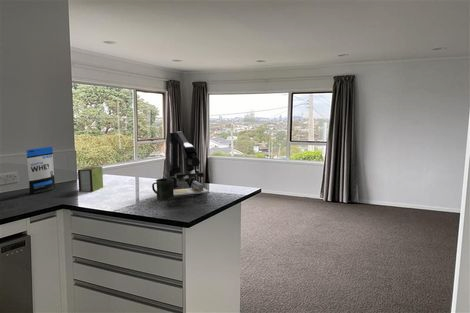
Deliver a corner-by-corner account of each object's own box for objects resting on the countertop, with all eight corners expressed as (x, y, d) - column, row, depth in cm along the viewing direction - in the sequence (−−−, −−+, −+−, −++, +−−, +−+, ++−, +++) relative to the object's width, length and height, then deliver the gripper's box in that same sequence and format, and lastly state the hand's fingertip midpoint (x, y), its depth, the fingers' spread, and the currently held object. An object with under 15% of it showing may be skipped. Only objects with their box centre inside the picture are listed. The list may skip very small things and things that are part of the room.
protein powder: (23, 194, 233) (20, 149, 230) (49, 187, 257) (46, 146, 253) (36, 195, 231) (32, 150, 228) (60, 187, 255) (58, 146, 252)
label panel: (169, 191, 241) (168, 189, 241) (202, 188, 251) (202, 186, 251) (174, 195, 228) (173, 193, 228) (209, 192, 237) (208, 190, 237)
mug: (169, 201, 214) (168, 181, 212) (148, 199, 218) (147, 180, 217) (177, 197, 224) (176, 178, 223) (157, 195, 228) (156, 177, 227)
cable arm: (191, 186, 248) (191, 181, 248) (196, 186, 249) (196, 180, 249) (198, 191, 233) (198, 185, 232) (203, 190, 234) (203, 184, 234)
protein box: (103, 187, 256) (102, 166, 254) (93, 192, 241) (91, 169, 239) (89, 187, 257) (88, 166, 255) (78, 191, 242) (77, 169, 240)
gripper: (178, 167, 222) (178, 191, 224) (206, 165, 230) (206, 189, 232) (174, 165, 233) (174, 188, 234) (201, 163, 240) (201, 185, 242)
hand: (189, 187), depth 235 cm, fingers closed
